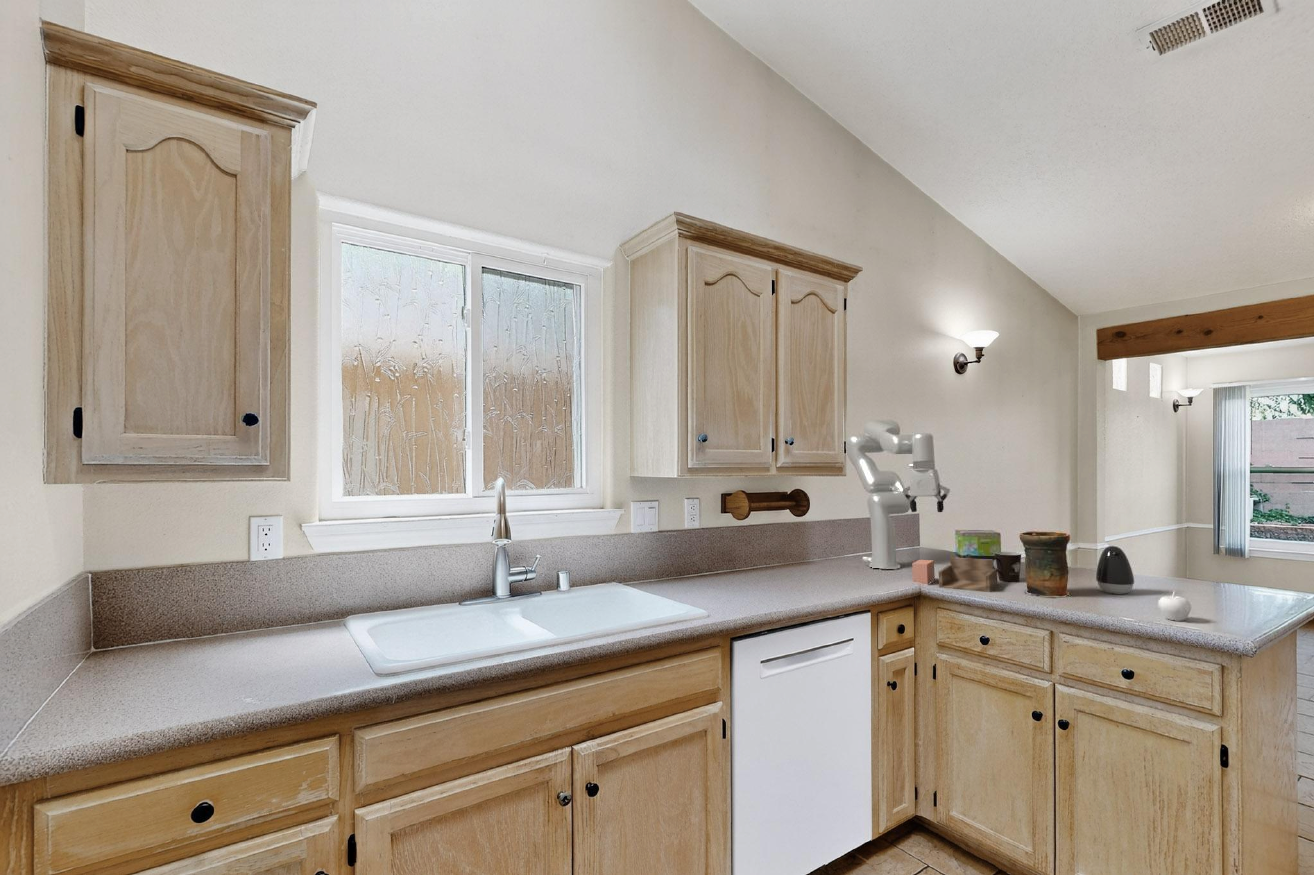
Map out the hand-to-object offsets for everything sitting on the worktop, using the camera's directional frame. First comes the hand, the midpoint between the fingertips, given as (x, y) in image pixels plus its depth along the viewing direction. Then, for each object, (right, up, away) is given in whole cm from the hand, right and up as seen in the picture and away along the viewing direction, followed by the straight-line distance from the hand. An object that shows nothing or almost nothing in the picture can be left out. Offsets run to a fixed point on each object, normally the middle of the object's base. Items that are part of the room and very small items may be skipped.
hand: (927, 511), depth 237 cm
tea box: (+33, -26, +26) cm, 49 cm away
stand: (+9, -25, -13) cm, 29 cm away
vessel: (+28, -24, -28) cm, 46 cm away
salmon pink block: (-3, -26, -4) cm, 26 cm away
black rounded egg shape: (+49, -23, -29) cm, 62 cm away
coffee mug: (+26, -25, -5) cm, 36 cm away
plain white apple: (+41, -22, -64) cm, 79 cm away
